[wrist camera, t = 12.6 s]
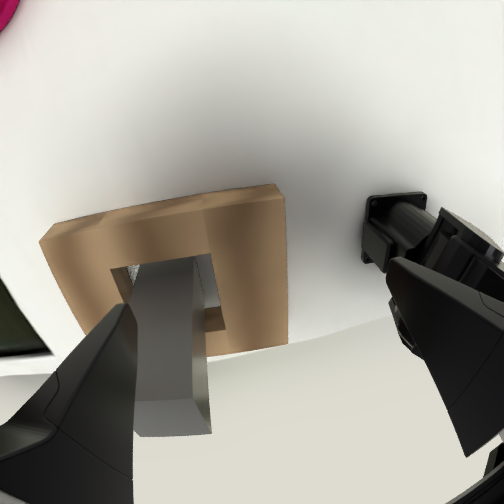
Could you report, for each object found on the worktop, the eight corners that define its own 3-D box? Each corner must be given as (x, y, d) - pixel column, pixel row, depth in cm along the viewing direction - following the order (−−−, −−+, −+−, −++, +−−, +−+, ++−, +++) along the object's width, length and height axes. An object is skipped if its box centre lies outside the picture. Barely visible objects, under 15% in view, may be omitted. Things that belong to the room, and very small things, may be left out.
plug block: (194, 252, 23) (192, 398, 12) (204, 296, 25) (211, 433, 14) (141, 261, 23) (107, 401, 12) (155, 302, 25) (140, 436, 14)
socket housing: (274, 183, 21) (284, 197, 18) (281, 321, 28) (288, 343, 26) (54, 224, 20) (38, 241, 17) (110, 343, 27) (104, 365, 24)
